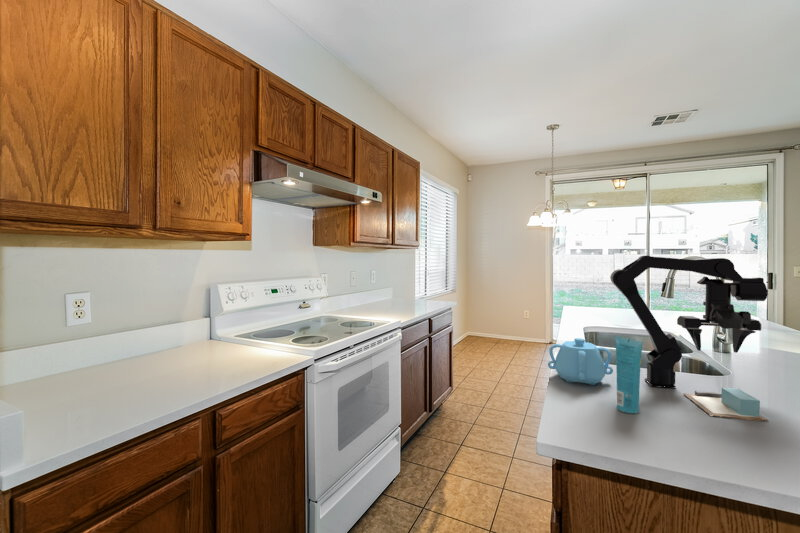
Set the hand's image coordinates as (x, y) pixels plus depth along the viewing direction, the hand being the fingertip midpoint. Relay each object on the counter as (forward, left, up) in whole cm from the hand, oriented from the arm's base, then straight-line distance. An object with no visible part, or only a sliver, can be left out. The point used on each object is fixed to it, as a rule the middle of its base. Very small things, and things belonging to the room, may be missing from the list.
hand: (716, 351), depth 110 cm
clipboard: (-5, -14, -12) cm, 19 cm away
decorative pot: (-38, +1, -12) cm, 40 cm away
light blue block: (-2, -15, -11) cm, 19 cm away
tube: (-30, -22, -12) cm, 39 cm away
